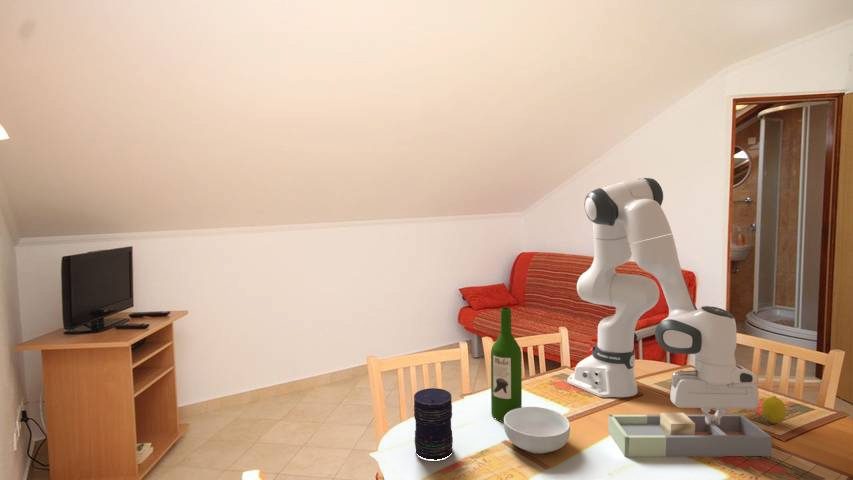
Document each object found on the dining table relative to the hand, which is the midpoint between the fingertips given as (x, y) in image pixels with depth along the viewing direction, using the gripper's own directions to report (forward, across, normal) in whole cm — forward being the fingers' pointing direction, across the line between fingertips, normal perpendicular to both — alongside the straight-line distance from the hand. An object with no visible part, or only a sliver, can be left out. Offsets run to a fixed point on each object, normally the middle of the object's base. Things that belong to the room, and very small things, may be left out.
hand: (712, 423), depth 122 cm
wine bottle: (+6, -51, +15) cm, 54 cm away
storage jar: (+7, -72, -6) cm, 72 cm away
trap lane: (+6, -6, +1) cm, 8 cm away
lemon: (+6, +22, +13) cm, 27 cm away
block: (+3, -8, +1) cm, 9 cm away
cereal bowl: (+7, -45, -2) cm, 45 cm away
